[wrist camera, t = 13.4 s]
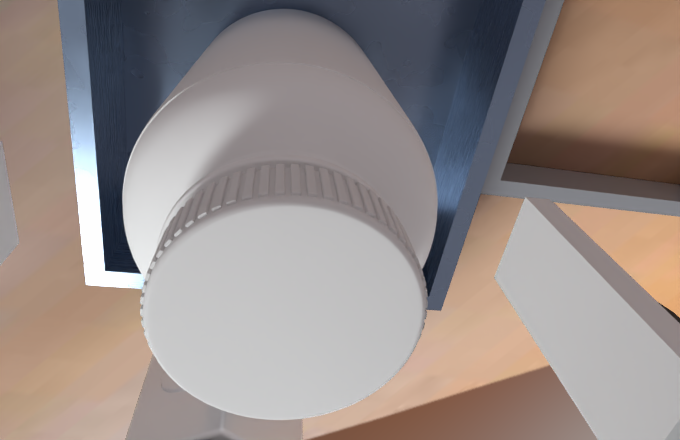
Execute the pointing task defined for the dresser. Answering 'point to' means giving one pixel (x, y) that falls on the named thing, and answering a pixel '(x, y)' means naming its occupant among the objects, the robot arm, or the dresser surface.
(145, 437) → the jar
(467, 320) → the dresser surface
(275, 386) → the pill bottle
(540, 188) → the frame
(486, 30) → the bin
